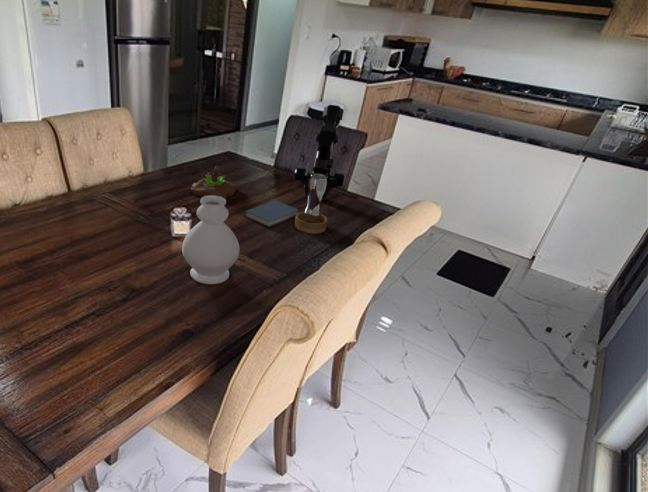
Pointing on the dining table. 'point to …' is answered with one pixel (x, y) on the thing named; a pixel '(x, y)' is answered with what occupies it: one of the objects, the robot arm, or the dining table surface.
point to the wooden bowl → (315, 227)
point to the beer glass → (315, 193)
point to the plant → (214, 186)
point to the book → (271, 213)
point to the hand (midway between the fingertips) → (315, 197)
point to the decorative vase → (211, 243)
